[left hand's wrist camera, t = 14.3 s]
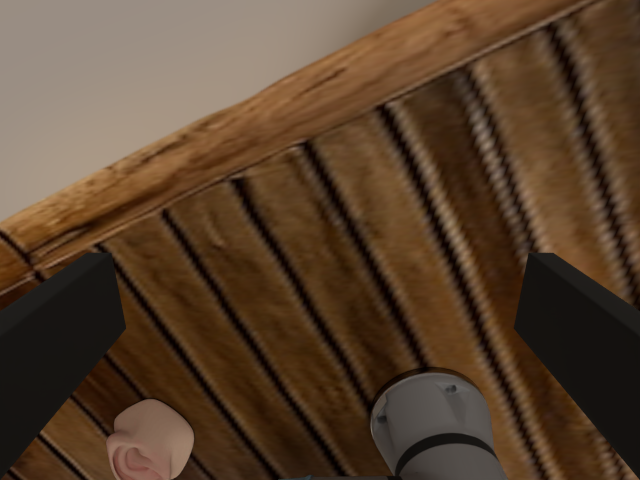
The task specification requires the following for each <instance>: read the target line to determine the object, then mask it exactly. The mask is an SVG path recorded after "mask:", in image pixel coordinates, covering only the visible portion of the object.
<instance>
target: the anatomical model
mask: <svg viewBox="0 0 640 480" xmlns="http://www.w3.org/2000/svg"><path fill="white" fill-rule="evenodd" d="M114 429H115V433H113V434H111V435H110V436H109V437H108V439H107V441H106V446H107V451H108V456H109V462H110V466H111V469H112V472H113V474H114V476H115V477H116V479H117V480H171V479H173V478H175V477H177V476H178V475H179V474H180V472H181V471H182V470H183V468H184V466H185V464H186V462H187V460H188V458H189V456H190V453H191V450H192V447H193V443H194V433H193V430H192V428H191V426H190V425H189V424H188V422H187V421H186V420H185V419H184V418H183V417H182V416H181V415H180V414H178V413H177V412H176V411H175V410H173V409H172V408H170V407H169V406H167V405H166V404H164V403H162V402H161V401H158V400H155V399H146V400H143V401H141V402H138V403H136V404H134V405H133V406H131V407H129V408H127V409H126V410H124V411H123V412H122V413H120V414H119V415H118V416H117V417H116V419H115V422H114Z"/></svg>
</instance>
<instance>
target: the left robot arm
mask: <svg viewBox="0 0 640 480" xmlns="http://www.w3.org/2000/svg"><path fill="white" fill-rule="evenodd" d="M125 329H126V325H125V320H124V315H123V310H122V305H121V300H120V295H119V290H118V285H117V279H116V274H115V269H114V264H113V259H112V254H111V253H86V254H84V255H83V256H82V257H80V258H79V259H77V260H76V261H74V262H73V263H71V264H70V265H68V266H67V267H65V268H64V269H62V270H61V271H59V272H58V273H56V274H55V275H53V276H52V277H50V278H49V279H47V280H46V281H45V282H43V283H42V284H40V285H39V286H37V287H36V288H34V289H33V290H31V291H30V292H28V293H27V294H25V295H24V296H22V297H21V298H19V299H18V300H16V301H15V302H13V303H12V304H10V305H9V306H7V307H6V308H5V309H3V310H2V311H0V479H1V478H2V477H3V476H4V475H5V473H6V472H7V471H8V470H9V469H10V467H11V466H12V465H13V464H14V463H15V461H16V460H17V459H18V458H19V457H20V455H21V454H22V453H23V452H24V451H25V449H26V448H27V447H28V446H29V445H30V443H31V442H32V441H33V440H34V439H35V437H36V436H37V435H38V434H39V433H40V431H41V430H42V429H43V428H44V427H45V425H46V424H47V423H48V422H49V421H50V419H51V418H52V417H53V416H54V415H55V413H56V412H57V411H58V410H59V408H60V407H61V406H62V405H63V404H64V402H65V401H66V400H67V399H68V398H69V396H70V395H71V394H72V393H73V392H74V390H75V389H76V388H77V387H78V386H79V384H80V383H81V382H82V381H83V380H84V378H85V377H86V376H87V375H88V374H89V372H90V371H91V370H92V369H93V368H94V366H95V365H96V364H97V363H98V362H99V360H100V359H101V358H102V357H103V356H104V354H105V353H106V352H107V351H108V350H109V348H110V347H111V346H112V345H113V344H114V342H115V341H116V340H117V339H118V338H119V336H120V335H121V334H122V333H123V332H124V330H125ZM514 329H515V330H516V332H517V333H518V334H519V335H520V336H521V338H522V339H523V340H524V341H525V342H526V344H527V345H528V346H529V347H530V348H531V350H532V351H533V352H534V353H535V354H536V356H537V357H538V358H539V359H540V360H541V362H542V363H543V364H544V365H545V366H546V368H547V369H548V370H549V371H550V372H551V374H552V375H553V376H554V377H555V378H556V380H557V381H558V382H559V383H560V384H561V386H562V387H563V388H564V389H565V390H566V392H567V393H568V394H569V395H570V396H571V398H572V399H573V400H574V401H575V402H576V404H577V405H578V406H579V407H580V408H581V410H582V411H583V412H584V413H585V415H586V416H587V417H588V418H589V419H590V421H591V422H592V423H593V424H594V425H595V427H596V428H597V429H598V430H599V431H600V433H601V434H602V435H603V436H604V437H605V439H606V440H607V441H608V442H609V443H610V445H611V446H612V447H613V448H614V449H615V451H616V452H617V453H618V454H619V455H620V457H621V458H622V459H623V460H624V461H625V463H626V464H627V465H628V466H629V467H630V469H631V470H632V471H633V472H634V473H635V475H636V476H637V477H638V478H639V479H640V311H638V310H637V309H635V308H634V307H633V306H631V305H630V304H628V303H627V302H625V301H624V300H622V299H621V298H619V297H618V296H616V295H615V294H613V293H612V292H610V291H609V290H607V289H606V288H604V287H603V286H601V285H600V284H598V283H597V282H595V281H594V280H593V279H591V278H590V277H588V276H587V275H585V274H584V273H582V272H581V271H579V270H578V269H576V268H575V267H573V266H572V265H570V264H569V263H567V262H566V261H564V260H563V259H561V258H560V257H558V256H557V255H556V254H554V253H529V254H528V259H527V264H526V269H525V274H524V279H523V285H522V290H521V295H520V300H519V305H518V310H517V315H516V320H515V325H514ZM370 426H371V432H372V436H373V438H374V441H375V444H376V446H377V448H378V450H379V451H380V453H381V455H382V456H383V458H384V460H385V462H386V463H387V465H388V467H389V468H390V470H391V472H392V474H393V475H394V476H349V477H314V475H307V476H306V477H302V478H290V479H280V480H508V478H507V476H506V474H505V472H504V470H503V468H502V466H501V464H500V463H499V461H498V458H497V456H496V454H495V452H494V445H493V435H492V426H491V417H490V412H489V409H488V405H487V403H486V401H485V399H484V397H483V395H482V393H481V391H480V390H479V388H478V387H477V386H476V384H475V383H474V382H473V381H471V380H470V379H469V378H467V377H466V376H464V375H462V374H460V373H458V372H455V371H452V370H449V369H443V368H422V369H417V370H412V371H409V372H406V373H404V374H402V375H400V376H398V377H396V378H394V379H393V380H391V381H390V382H389V383H387V384H386V385H385V386H384V387H383V388H382V389H381V390H380V391H379V393H378V394H377V395H376V397H375V399H374V401H373V403H372V406H371V409H370Z"/></svg>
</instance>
